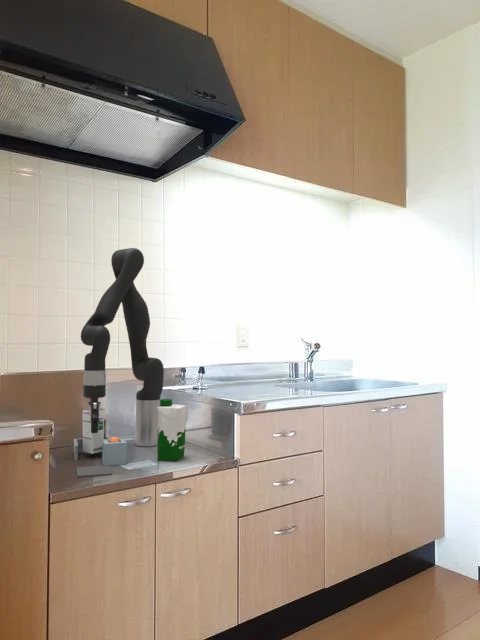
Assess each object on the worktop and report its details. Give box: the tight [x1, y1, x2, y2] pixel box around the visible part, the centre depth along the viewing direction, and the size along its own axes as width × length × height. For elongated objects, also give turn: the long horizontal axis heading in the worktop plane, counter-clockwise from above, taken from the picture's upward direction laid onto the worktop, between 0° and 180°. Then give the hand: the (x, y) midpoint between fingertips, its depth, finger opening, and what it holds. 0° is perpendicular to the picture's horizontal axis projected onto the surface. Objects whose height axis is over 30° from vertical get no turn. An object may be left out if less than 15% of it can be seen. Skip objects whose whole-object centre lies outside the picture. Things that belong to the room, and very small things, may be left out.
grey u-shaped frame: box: [73, 436, 111, 462], centre depth 181 cm, size 12×12×5 cm
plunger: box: [109, 436, 120, 443], centre depth 172 cm, size 3×3×6 cm
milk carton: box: [156, 398, 187, 463], centre depth 178 cm, size 9×9×20 cm
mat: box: [76, 464, 113, 478], centre depth 160 cm, size 10×10×1 cm
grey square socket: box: [101, 438, 128, 466], centre depth 172 cm, size 7×7×7 cm
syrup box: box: [82, 407, 107, 455], centre depth 181 cm, size 6×6×14 cm
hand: (93, 430), depth 181 cm, fingers closed on syrup box, 7 cm apart
